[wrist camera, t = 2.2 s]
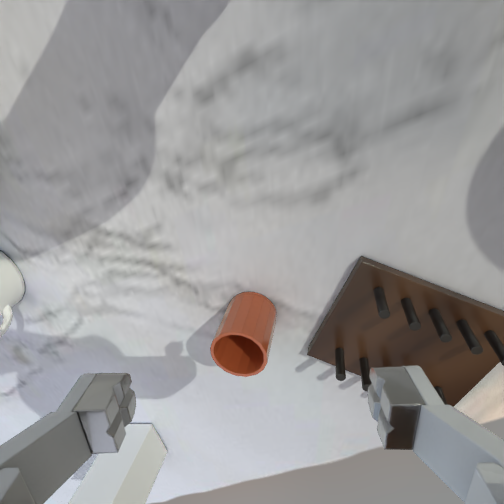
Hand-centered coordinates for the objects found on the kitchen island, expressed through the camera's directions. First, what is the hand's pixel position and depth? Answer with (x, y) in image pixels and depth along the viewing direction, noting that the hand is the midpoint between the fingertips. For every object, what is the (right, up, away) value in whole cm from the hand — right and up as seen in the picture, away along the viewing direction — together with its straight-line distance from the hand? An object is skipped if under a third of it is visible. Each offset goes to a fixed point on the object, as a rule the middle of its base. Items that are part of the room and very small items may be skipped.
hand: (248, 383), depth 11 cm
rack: (+17, -5, +26) cm, 32 cm away
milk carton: (-19, -27, +46) cm, 56 cm away
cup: (0, -3, +29) cm, 29 cm away
